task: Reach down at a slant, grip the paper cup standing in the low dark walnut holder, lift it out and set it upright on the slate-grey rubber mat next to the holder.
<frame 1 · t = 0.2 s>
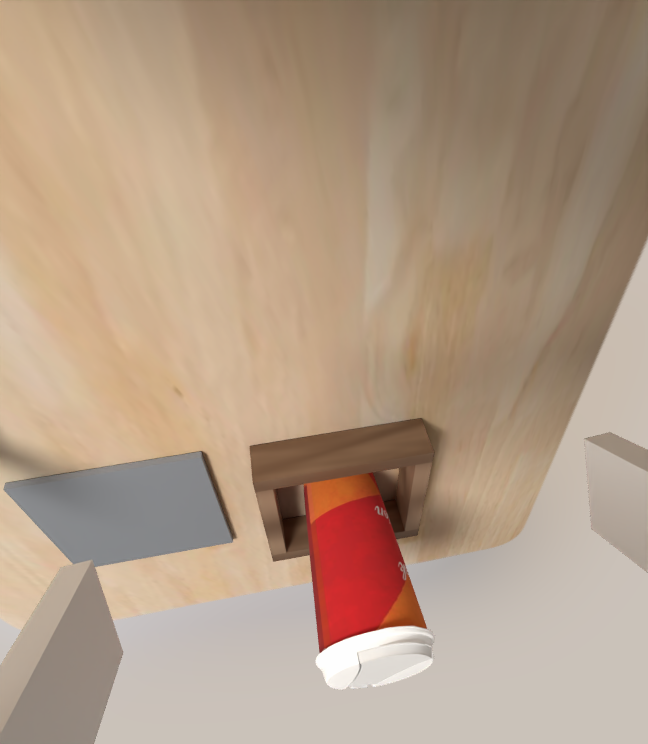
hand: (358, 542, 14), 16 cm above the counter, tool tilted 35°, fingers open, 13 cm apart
cup holder: (338, 478, 41), on the counter
slate mat: (134, 513, 40), on the counter
paper cup: (337, 476, 42), resting in cup holder
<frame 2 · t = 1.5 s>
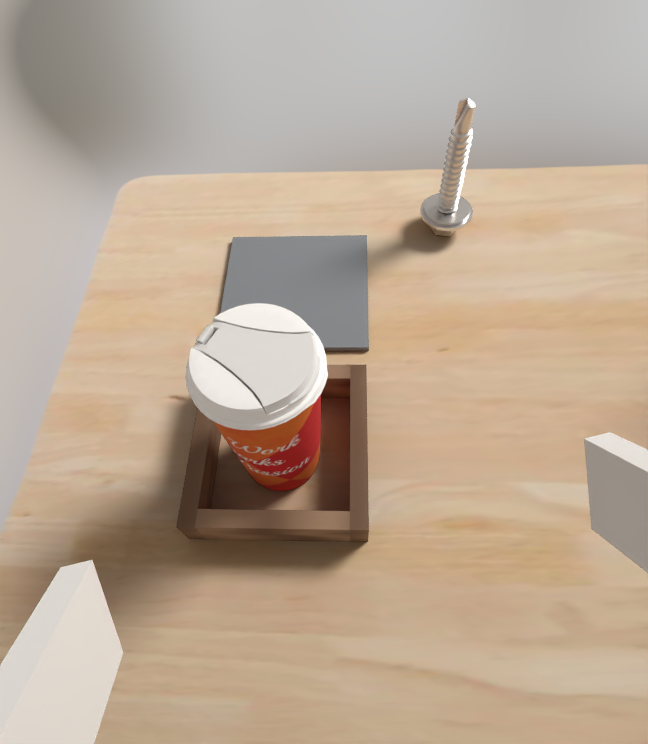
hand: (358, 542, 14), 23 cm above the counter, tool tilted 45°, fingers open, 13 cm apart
cup holder: (283, 455, 39), on the counter
screw: (442, 228, 51), on the counter
slate mat: (295, 291, 48), on the counter
paper cup: (284, 457, 39), resting in cup holder
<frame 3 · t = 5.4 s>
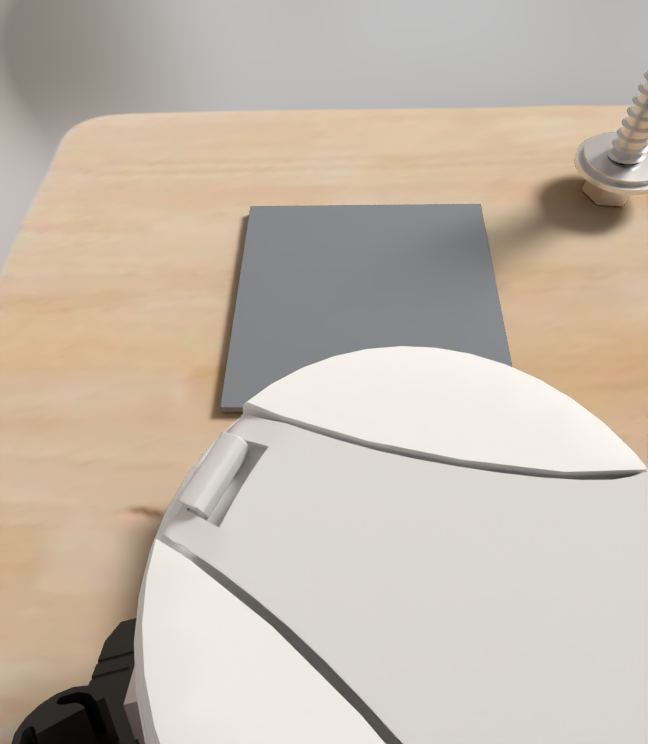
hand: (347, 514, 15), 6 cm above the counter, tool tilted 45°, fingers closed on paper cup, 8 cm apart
screw: (605, 195, 30), on the counter
slate mat: (365, 299, 26), on the counter
paper cup: (372, 658, 18), resting in cup holder, touching gripper
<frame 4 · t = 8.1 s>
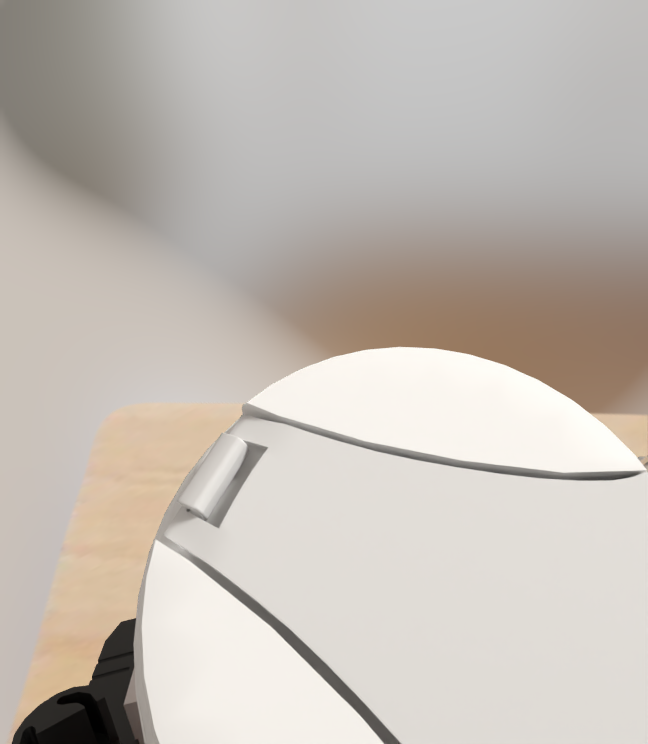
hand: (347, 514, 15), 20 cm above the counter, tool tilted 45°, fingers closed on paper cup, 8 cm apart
paper cup: (372, 659, 18), point 14 cm above the counter, touching gripper
when the fingers open (7 cm above the counter, at t = 11.1 s): paper cup drops 1 cm, resting on slate mat.
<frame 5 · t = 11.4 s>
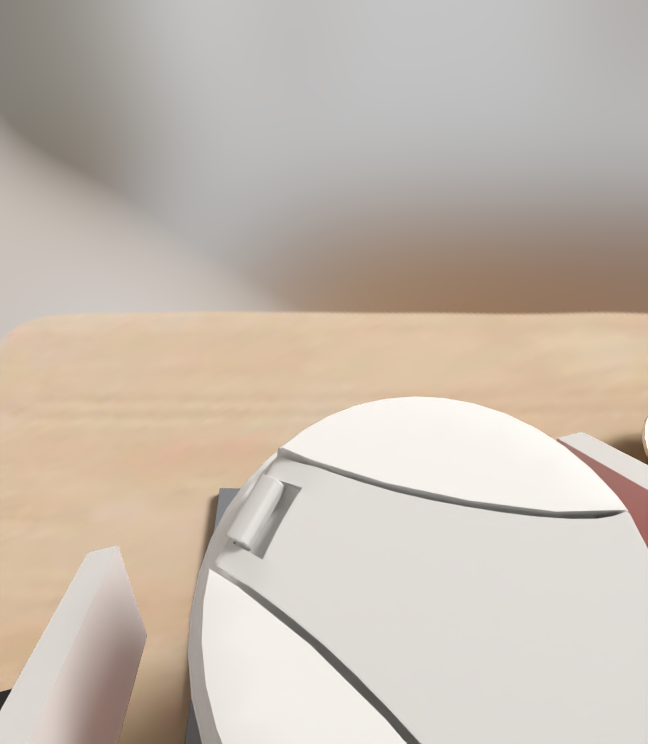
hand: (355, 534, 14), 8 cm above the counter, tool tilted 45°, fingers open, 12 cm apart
slate mat: (370, 661, 20), on the counter
paper cup: (382, 661, 19), resting on slate mat
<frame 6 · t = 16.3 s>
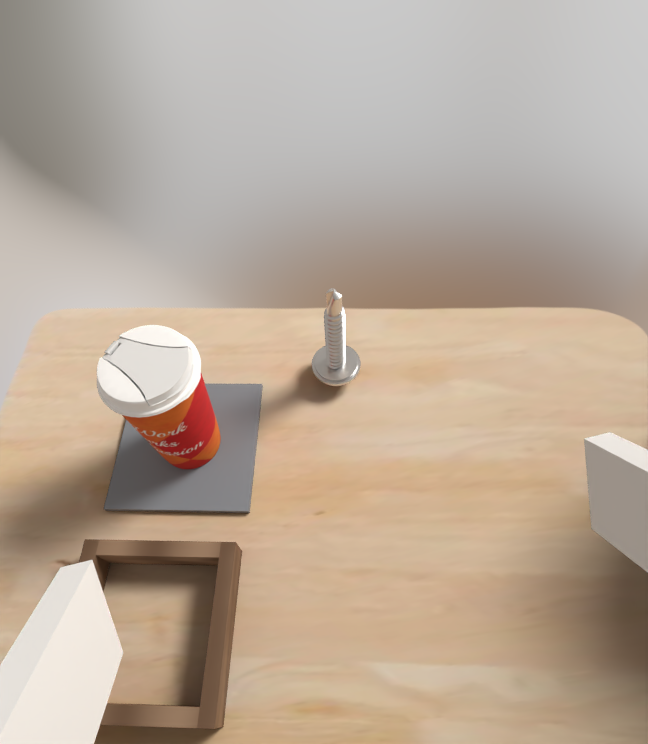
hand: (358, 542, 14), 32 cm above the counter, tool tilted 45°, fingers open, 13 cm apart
cup holder: (156, 629, 41), on the counter
screw: (336, 375, 54), on the counter
slate mat: (189, 444, 50), on the counter
paper cup: (192, 443, 50), resting on slate mat
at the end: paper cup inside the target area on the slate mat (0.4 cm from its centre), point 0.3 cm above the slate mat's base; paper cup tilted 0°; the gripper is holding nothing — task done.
